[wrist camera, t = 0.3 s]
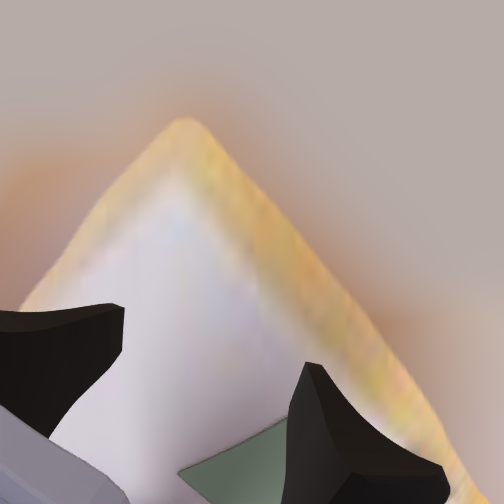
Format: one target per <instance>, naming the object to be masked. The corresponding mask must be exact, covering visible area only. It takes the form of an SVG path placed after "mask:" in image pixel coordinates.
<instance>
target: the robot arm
mask: <svg viewBox="0 0 504 504" xmlns="http://www.w3.org/2000/svg"><path fill="white" fill-rule="evenodd" d="M124 312H125V308H124V307H121V306H118V305H116V304H113V303H106V304H97V305H91V306H84V307H78V308H72V309H64V310H56V311H47V312H14V311H2V310H0V504H130V502H129V500H128V498H127V496H126V494H125V492H124V491H123V490H122V489H121V488H120V487H119V486H117V485H116V484H115V483H114V482H113V481H112V480H111V479H110V478H109V477H108V476H107V475H105V474H104V473H102V472H101V471H99V470H98V469H96V468H95V467H93V466H92V465H90V464H89V463H87V462H86V461H84V460H82V459H81V458H79V457H77V456H75V455H74V454H72V453H70V452H68V451H67V450H65V449H63V448H62V447H60V446H58V445H57V444H55V443H54V442H52V441H50V440H49V437H50V435H51V434H52V432H53V431H54V429H55V428H56V427H57V425H58V424H59V422H60V421H61V419H62V418H63V417H64V415H65V414H66V413H67V412H68V410H69V409H70V408H71V406H72V405H73V404H74V403H75V402H76V401H77V400H78V398H79V397H80V396H82V395H83V394H84V393H85V392H86V391H87V390H88V389H89V388H90V387H91V386H92V385H93V384H94V383H95V382H96V381H97V380H98V379H99V378H100V377H101V376H102V375H103V374H104V373H105V372H106V371H107V370H108V369H109V368H110V367H111V365H112V364H113V363H114V362H115V360H116V359H117V357H118V356H119V355H120V353H121V352H122V341H123V325H124ZM449 495H450V485H449V482H448V480H447V477H446V475H445V472H444V470H443V468H442V466H440V465H438V464H435V463H433V462H431V461H428V460H426V459H424V458H421V457H419V456H417V455H415V454H413V453H411V452H409V451H408V450H406V449H404V448H402V447H401V446H399V445H397V444H396V443H394V442H393V441H391V440H390V439H388V438H387V437H386V436H384V435H383V434H382V433H380V432H379V431H378V430H376V429H375V428H374V427H373V426H372V425H371V424H370V423H369V422H367V421H366V420H365V419H364V418H363V417H362V416H361V415H360V414H359V413H358V412H357V411H356V410H355V408H354V407H353V406H352V405H351V404H350V403H349V402H348V400H347V399H346V398H345V397H344V395H343V394H342V393H341V392H340V390H339V389H338V388H337V386H336V385H335V383H334V382H333V380H332V379H331V378H330V376H329V375H328V373H327V372H326V370H325V369H324V368H323V366H322V365H319V364H315V363H310V362H305V365H304V367H303V370H302V373H301V375H300V378H299V381H298V384H297V386H296V389H295V391H294V394H293V397H292V399H291V402H290V406H289V412H288V418H287V427H286V472H285V482H284V488H283V494H282V500H281V504H445V502H446V501H447V499H448V497H449Z"/></svg>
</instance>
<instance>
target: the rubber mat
mask: <svg viewBox="0 0 504 504" xmlns="http://www.w3.org/2000/svg"><path fill="white" fill-rule="evenodd" d="M286 427H287V418H286V419H284V420H282V421H281V422H279V423H277V424H276V425H274V426H272V427H270V428H268V429H267V430H265V431H263V432H261V433H259V434H258V435H256V436H254V437H252V438H250V439H248V440H246V441H244V442H242V443H240V444H239V445H237V446H235V447H233V448H231V449H229V450H226V451H224V452H222V453H220V454H218V455H216V456H214V457H212V458H210V459H207V460H205V461H203V462H201V463H199V464H196V465H194V466H192V467H189V468H187V469H185V470H182V471H180V472H178V473H177V474H178V475H179V476H180V477H181V478H182V479H183V480H184V481H185V482H186V483H188V484H189V485H190V486H191V487H192V488H193V489H194V490H196V491H197V492H198V493H199V494H200V495H202V496H203V497H204V498H205V499H206V500H208V501H209V502H210V503H211V504H281V500H282V494H283V488H284V482H285V472H286Z"/></svg>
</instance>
